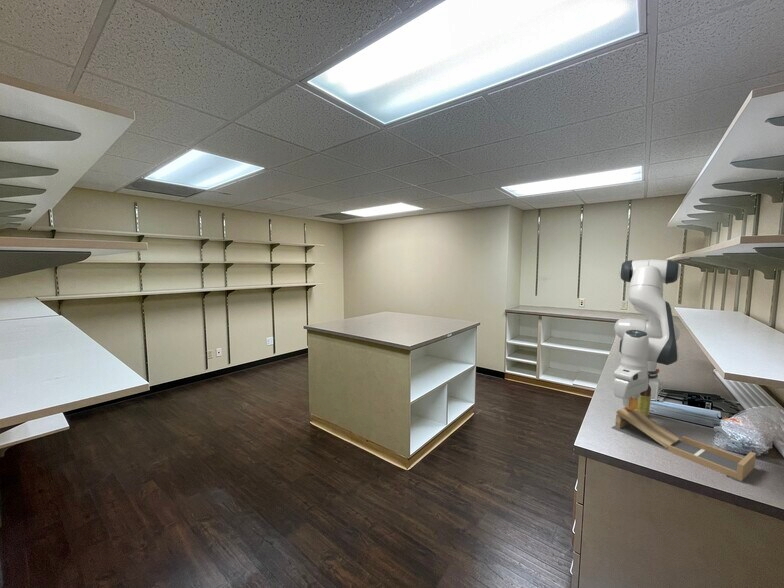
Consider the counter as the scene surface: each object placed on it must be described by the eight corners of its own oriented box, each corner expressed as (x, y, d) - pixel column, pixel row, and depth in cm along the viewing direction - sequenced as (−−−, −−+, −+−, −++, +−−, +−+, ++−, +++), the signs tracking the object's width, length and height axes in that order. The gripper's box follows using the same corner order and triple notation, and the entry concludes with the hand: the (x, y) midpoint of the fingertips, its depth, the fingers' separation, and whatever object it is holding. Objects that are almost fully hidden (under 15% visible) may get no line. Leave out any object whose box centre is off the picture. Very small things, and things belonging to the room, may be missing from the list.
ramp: (626, 421, 134) (628, 404, 134) (679, 441, 119) (681, 422, 119) (614, 427, 129) (615, 410, 129) (668, 449, 114) (670, 429, 114)
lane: (626, 420, 136) (627, 408, 135) (755, 469, 104) (757, 453, 103) (610, 428, 129) (611, 415, 129) (742, 482, 97) (744, 466, 97)
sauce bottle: (630, 411, 145) (634, 368, 143) (648, 415, 141) (652, 371, 140) (631, 416, 140) (634, 372, 138) (649, 420, 136) (653, 375, 134)
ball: (626, 404, 132) (626, 393, 132) (640, 409, 128) (640, 397, 127) (620, 408, 130) (620, 397, 129) (634, 413, 126) (634, 401, 125)
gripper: (636, 365, 135) (634, 396, 137) (611, 372, 125) (608, 406, 126) (654, 369, 130) (651, 402, 131) (629, 378, 120) (626, 413, 121)
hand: (630, 404), depth 129 cm, fingers closed on ball, 5 cm apart
